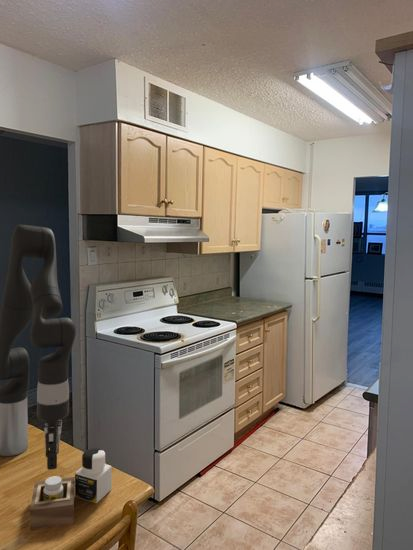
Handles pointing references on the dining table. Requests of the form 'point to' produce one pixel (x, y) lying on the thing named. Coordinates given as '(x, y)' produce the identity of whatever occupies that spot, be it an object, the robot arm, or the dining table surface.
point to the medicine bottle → (93, 476)
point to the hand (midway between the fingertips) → (53, 460)
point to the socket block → (52, 506)
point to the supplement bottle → (53, 488)
